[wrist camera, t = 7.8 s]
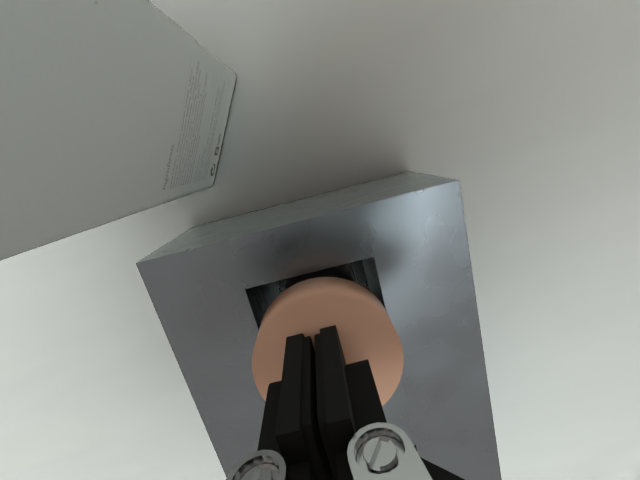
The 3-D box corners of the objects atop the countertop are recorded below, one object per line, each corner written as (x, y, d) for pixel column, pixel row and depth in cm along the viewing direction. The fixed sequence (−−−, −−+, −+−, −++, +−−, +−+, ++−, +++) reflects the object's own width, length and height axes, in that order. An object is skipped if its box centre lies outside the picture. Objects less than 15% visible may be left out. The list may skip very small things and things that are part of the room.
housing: (409, 171, 17) (459, 180, 12) (456, 437, 22) (509, 539, 16) (192, 227, 18) (136, 263, 12) (283, 477, 22) (274, 590, 17)
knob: (354, 225, 17) (387, 278, 10) (373, 308, 19) (415, 409, 11) (263, 248, 18) (231, 317, 10) (289, 329, 19) (276, 442, 12)
